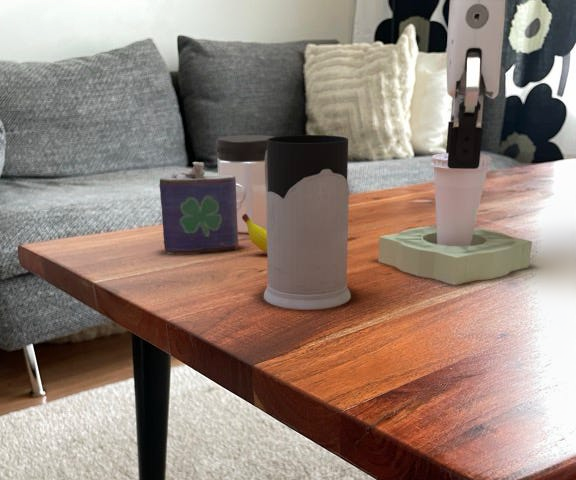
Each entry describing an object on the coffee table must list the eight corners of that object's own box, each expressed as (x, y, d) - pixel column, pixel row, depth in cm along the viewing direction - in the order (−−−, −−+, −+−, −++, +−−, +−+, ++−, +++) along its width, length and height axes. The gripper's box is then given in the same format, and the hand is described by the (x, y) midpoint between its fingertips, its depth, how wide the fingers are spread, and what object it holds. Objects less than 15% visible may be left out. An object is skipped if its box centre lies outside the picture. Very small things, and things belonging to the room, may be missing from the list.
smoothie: (490, 250, 79) (505, 115, 73) (433, 252, 79) (444, 116, 73) (472, 237, 85) (485, 111, 79) (419, 238, 84) (427, 111, 79)
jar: (207, 231, 100) (202, 140, 95) (232, 219, 107) (229, 134, 102) (267, 235, 97) (265, 142, 92) (289, 223, 104) (288, 135, 99)
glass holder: (285, 314, 67) (283, 146, 61) (232, 276, 79) (226, 132, 73) (366, 302, 70) (373, 140, 64) (304, 267, 82) (304, 128, 76)
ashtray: (449, 245, 91) (451, 221, 90) (537, 267, 81) (540, 241, 80) (370, 261, 84) (371, 236, 83) (455, 288, 74) (457, 259, 73)
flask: (236, 245, 92) (233, 158, 87) (240, 251, 89) (237, 161, 85) (163, 250, 90) (156, 161, 85) (165, 256, 87) (158, 165, 83)
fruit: (242, 257, 86) (240, 215, 84) (243, 252, 88) (242, 211, 86) (327, 257, 86) (327, 215, 84) (326, 253, 88) (327, 211, 86)
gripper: (529, -37, 62) (504, 176, 70) (508, -19, 78) (490, 154, 85) (441, -35, 63) (426, 174, 71) (438, -17, 79) (426, 153, 86)
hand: (461, 162), depth 78 cm, fingers closed on smoothie, 6 cm apart
